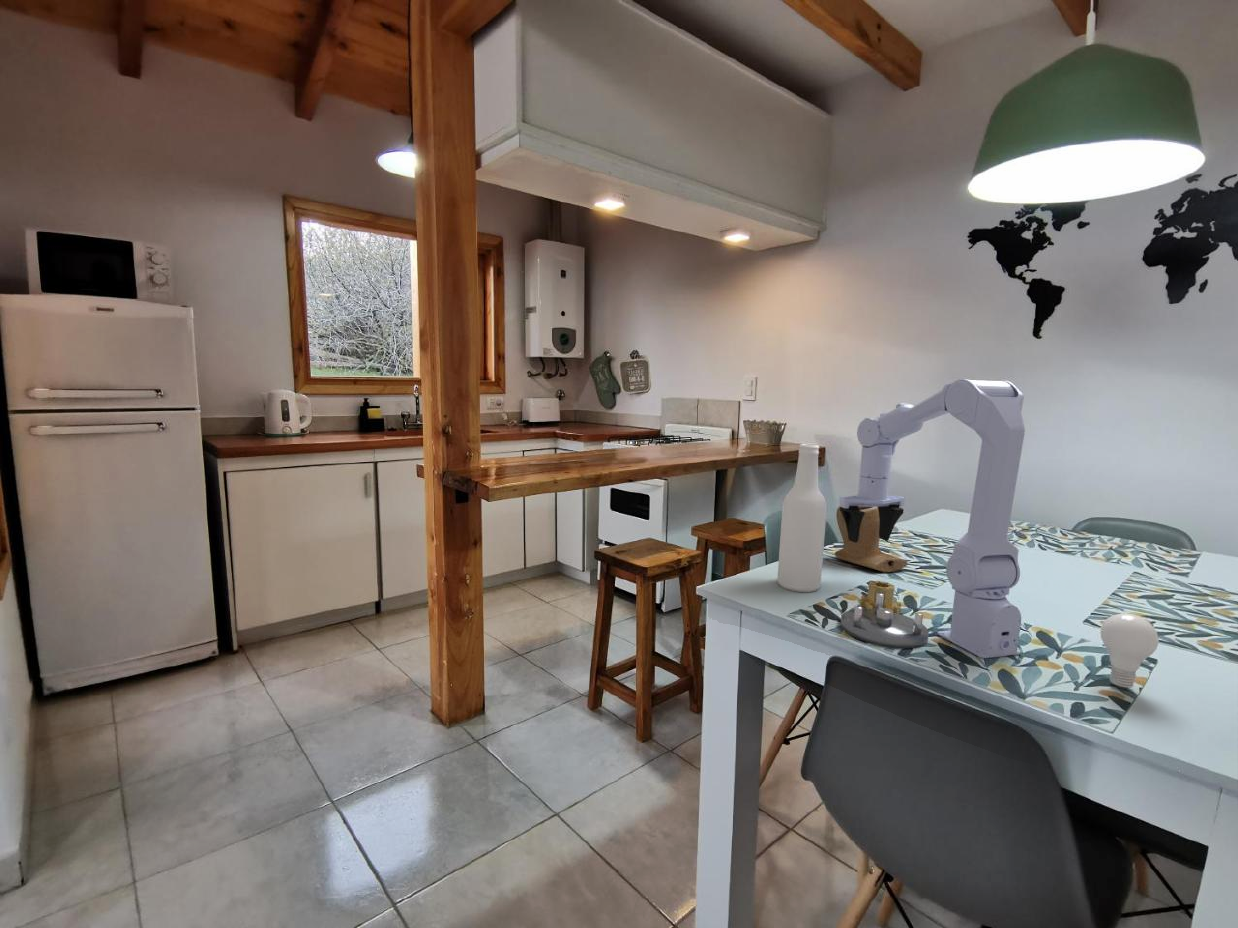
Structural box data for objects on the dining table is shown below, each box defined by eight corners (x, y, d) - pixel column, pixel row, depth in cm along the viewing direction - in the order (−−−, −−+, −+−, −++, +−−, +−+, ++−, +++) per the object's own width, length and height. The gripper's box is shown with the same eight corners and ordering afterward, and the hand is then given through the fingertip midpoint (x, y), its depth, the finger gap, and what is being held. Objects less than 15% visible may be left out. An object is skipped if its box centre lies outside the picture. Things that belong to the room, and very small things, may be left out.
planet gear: (908, 612, 113) (911, 590, 113) (876, 615, 111) (878, 592, 111) (882, 599, 120) (884, 577, 120) (851, 601, 118) (853, 579, 118)
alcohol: (829, 589, 125) (841, 446, 121) (800, 595, 121) (811, 448, 116) (796, 576, 133) (807, 441, 128) (768, 582, 128) (777, 443, 124)
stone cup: (821, 559, 147) (826, 499, 144) (855, 554, 152) (860, 496, 150) (873, 578, 133) (879, 512, 131) (908, 571, 139) (915, 508, 137)
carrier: (947, 643, 100) (950, 617, 99) (876, 651, 96) (879, 623, 96) (888, 612, 113) (891, 588, 113) (824, 617, 110) (826, 593, 109)
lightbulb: (1158, 702, 83) (1170, 627, 82) (1102, 692, 85) (1113, 619, 84) (1138, 681, 89) (1149, 611, 87) (1086, 672, 91) (1096, 603, 90)
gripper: (890, 473, 130) (884, 534, 132) (832, 474, 126) (827, 536, 128) (914, 478, 123) (907, 542, 125) (853, 479, 119) (848, 545, 121)
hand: (868, 540), depth 126 cm, fingers open, 7 cm apart
